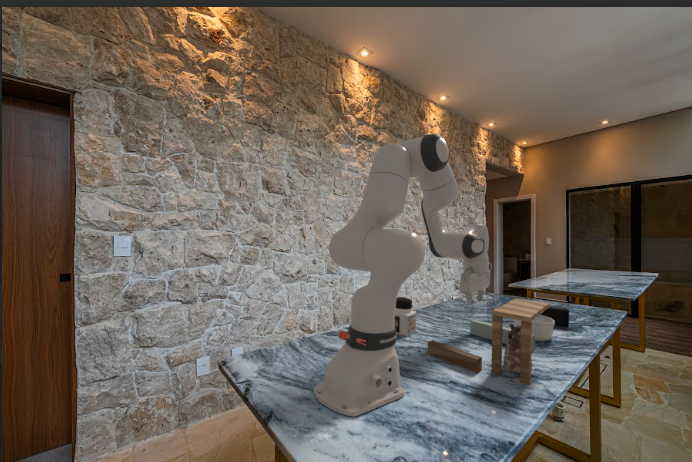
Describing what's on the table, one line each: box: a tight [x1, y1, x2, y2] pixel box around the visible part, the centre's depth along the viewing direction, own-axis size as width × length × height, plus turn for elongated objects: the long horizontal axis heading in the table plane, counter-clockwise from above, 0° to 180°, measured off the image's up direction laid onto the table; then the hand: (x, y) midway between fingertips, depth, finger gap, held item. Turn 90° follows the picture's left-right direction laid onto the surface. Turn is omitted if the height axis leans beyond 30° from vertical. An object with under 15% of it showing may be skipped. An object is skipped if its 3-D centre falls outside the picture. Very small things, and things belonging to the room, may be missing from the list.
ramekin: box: [513, 315, 556, 342], centre depth 112 cm, size 13×13×7 cm
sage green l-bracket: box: [469, 319, 536, 353], centre depth 103 cm, size 13×21×5 cm, turn 40°
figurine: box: [502, 323, 533, 374], centre depth 85 cm, size 7×7×12 cm
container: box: [394, 296, 417, 337], centre depth 114 cm, size 8×8×13 cm
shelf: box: [490, 297, 550, 386], centre depth 86 cm, size 22×9×17 cm, turn 135°
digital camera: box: [540, 305, 570, 328], centre depth 128 cm, size 10×5×7 cm, turn 59°
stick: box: [426, 340, 483, 374], centre depth 88 cm, size 3×16×4 cm, turn 40°
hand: (474, 302), depth 113 cm, fingers open, 8 cm apart
